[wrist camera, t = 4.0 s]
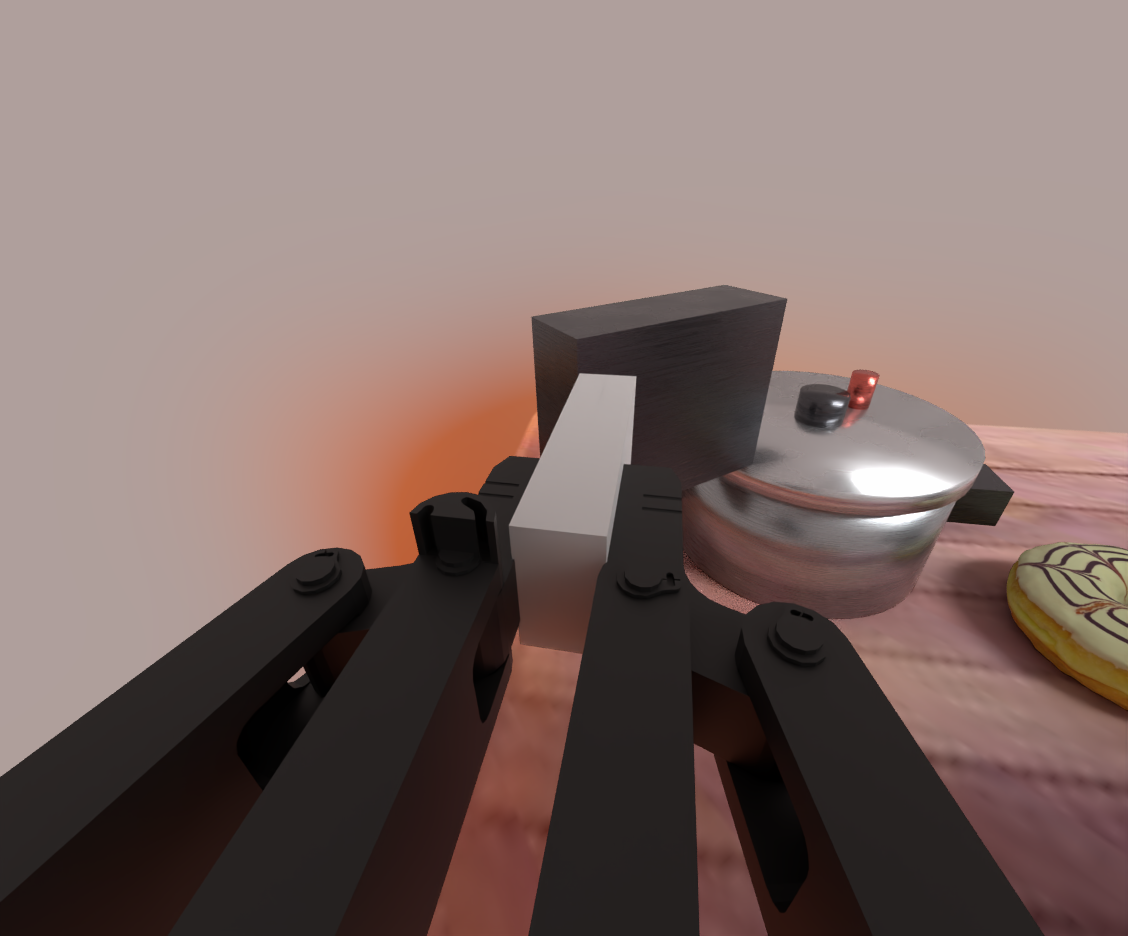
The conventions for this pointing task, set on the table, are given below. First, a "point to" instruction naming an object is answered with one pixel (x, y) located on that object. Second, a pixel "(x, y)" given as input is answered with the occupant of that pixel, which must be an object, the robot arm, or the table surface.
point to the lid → (754, 406)
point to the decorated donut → (1076, 611)
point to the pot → (821, 546)
